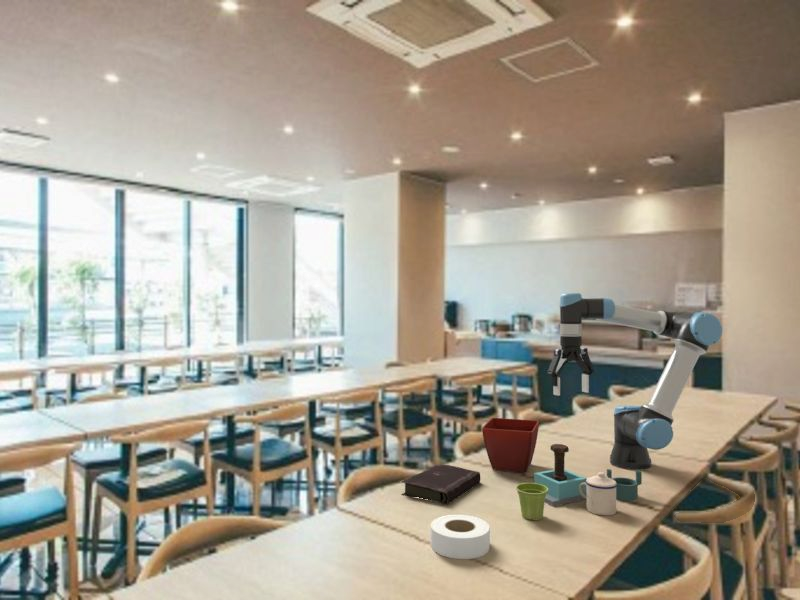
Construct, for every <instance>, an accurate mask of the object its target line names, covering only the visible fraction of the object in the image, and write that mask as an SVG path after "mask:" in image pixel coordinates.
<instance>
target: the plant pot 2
mask: <svg viewBox="0 0 800 600" xmlns="http://www.w3.org/2000/svg"><path fill="white" fill-rule="evenodd" d="M515 489H516V491H517V494H518V496H519V497H518V499H519V505H520V512H521V516H522V518H524V519H526V520H533V521H539V520H542V519H543V516H544V509H545V496H546V493H547V492H548V488H547V487H546V486H544V485H541V484H537V483H534V482H522V483H519V484H517V485H516V486H515Z"/></svg>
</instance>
